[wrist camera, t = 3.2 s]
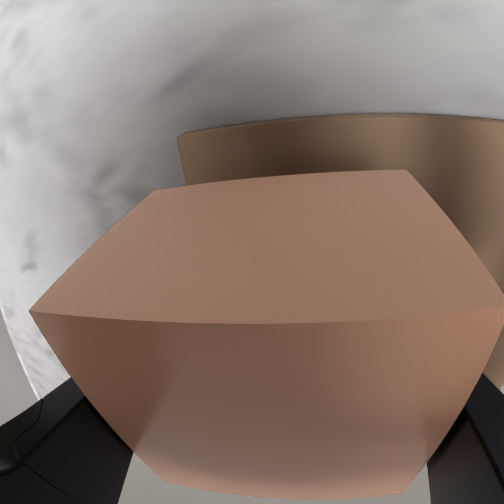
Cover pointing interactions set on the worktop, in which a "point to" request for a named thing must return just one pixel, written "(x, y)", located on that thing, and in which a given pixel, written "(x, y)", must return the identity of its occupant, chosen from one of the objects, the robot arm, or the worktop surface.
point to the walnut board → (377, 167)
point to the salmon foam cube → (279, 332)
